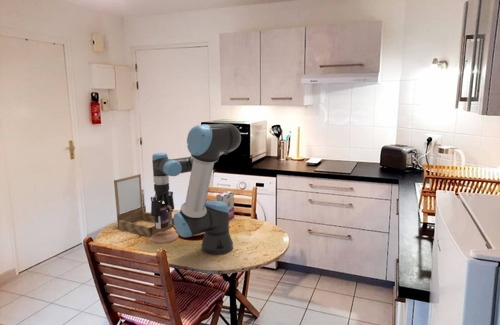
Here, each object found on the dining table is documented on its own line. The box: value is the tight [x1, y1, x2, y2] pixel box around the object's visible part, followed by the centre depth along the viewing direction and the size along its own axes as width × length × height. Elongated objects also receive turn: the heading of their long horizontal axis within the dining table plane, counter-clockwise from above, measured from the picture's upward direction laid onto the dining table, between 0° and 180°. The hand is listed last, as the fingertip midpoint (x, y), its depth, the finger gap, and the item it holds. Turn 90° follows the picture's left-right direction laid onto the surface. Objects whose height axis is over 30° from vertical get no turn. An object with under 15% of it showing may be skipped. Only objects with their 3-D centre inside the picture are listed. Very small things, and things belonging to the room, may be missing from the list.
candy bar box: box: [216, 190, 235, 221], centre depth 210 cm, size 11×5×16 cm, turn 147°
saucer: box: [150, 230, 179, 244], centre depth 184 cm, size 14×14×1 cm
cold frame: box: [116, 188, 175, 238], centre depth 198 cm, size 26×18×19 cm
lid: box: [113, 174, 143, 216], centre depth 203 cm, size 1×18×20 cm, turn 149°
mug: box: [154, 202, 173, 228], centre depth 183 cm, size 10×7×12 cm
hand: (163, 225), depth 184 cm, fingers closed on mug, 7 cm apart
